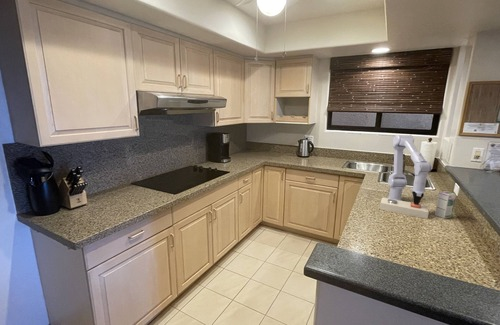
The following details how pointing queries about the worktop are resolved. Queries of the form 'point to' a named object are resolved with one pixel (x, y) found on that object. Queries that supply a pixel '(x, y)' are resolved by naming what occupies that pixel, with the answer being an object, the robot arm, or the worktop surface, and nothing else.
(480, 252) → the worktop surface
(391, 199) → the grey button
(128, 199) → the worktop surface
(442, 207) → the syrup box
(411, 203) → the red button
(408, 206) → the control box
